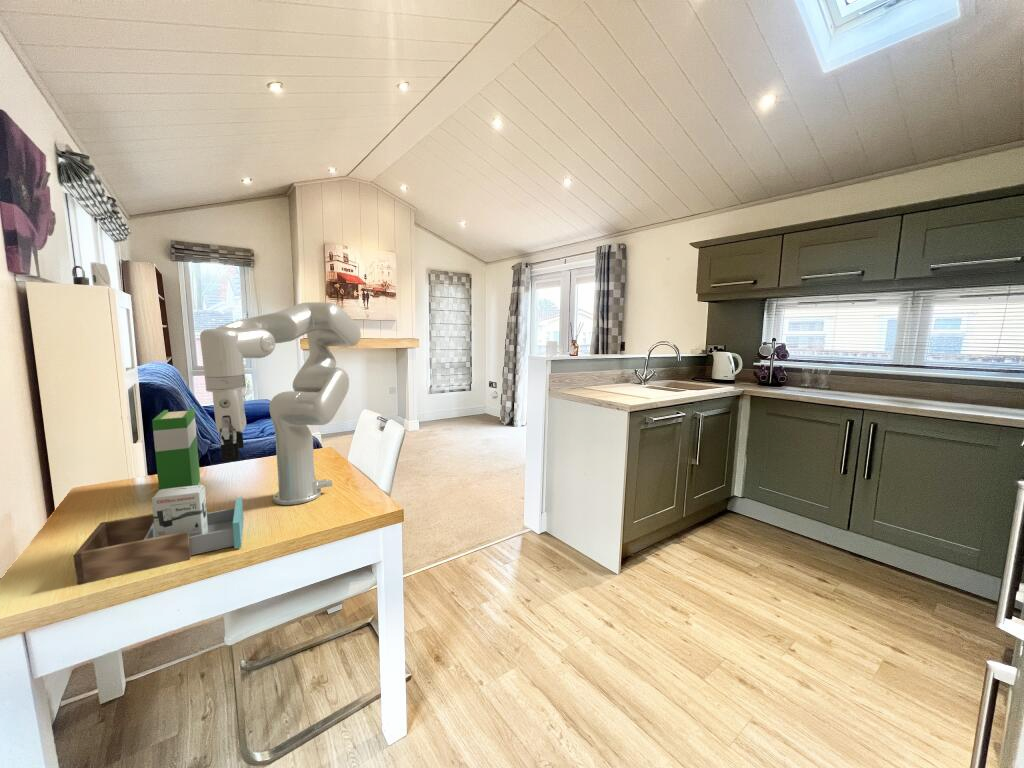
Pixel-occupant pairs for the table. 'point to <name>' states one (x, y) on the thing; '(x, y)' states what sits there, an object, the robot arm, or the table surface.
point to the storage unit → (127, 549)
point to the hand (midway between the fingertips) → (233, 454)
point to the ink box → (180, 511)
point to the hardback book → (176, 449)
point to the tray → (217, 530)
